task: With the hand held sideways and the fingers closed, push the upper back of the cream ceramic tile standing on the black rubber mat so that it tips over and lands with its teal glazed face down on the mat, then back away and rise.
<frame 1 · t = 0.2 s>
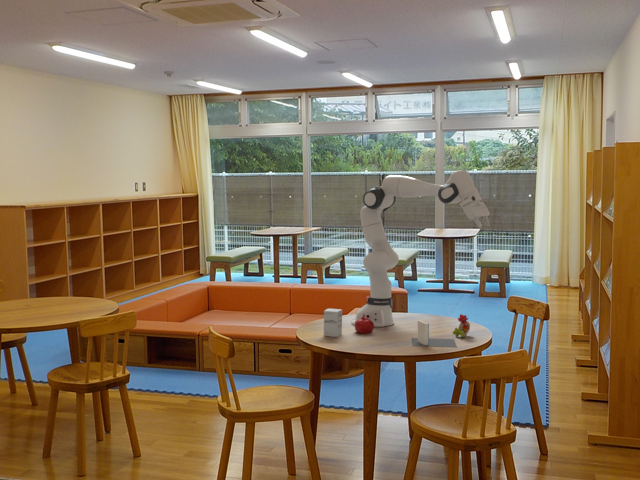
hand: (484, 226, 315), 54 cm above the table, tool tilted 30°, fingers open, 8 cm apart
tile: (423, 343, 306), point 1 cm above the table, touching rubber mat
bird rattle: (462, 336, 323), on the table
pomegranate: (364, 332, 330), on the table
rubber mat: (433, 343, 307), on the table
supplement box: (332, 335, 324), on the table
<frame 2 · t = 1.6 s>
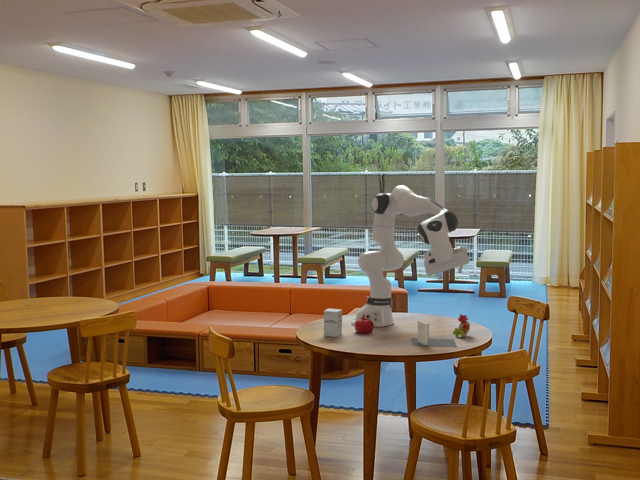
hand: (450, 275, 304), 32 cm above the table, tool tilted 35°, fingers open, 8 cm apart
nothing on the table moved.
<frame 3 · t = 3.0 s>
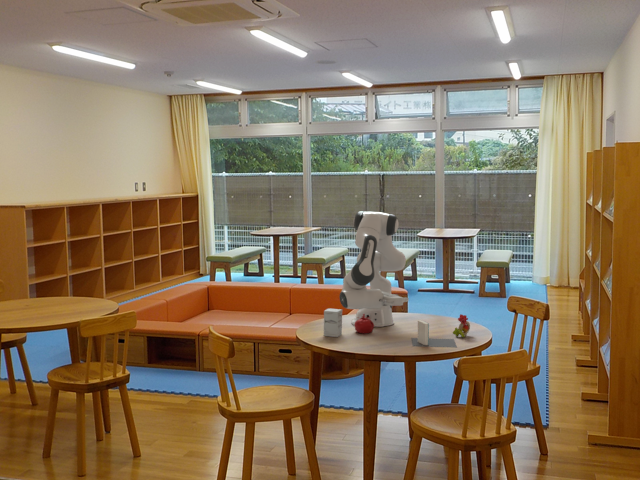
hand: (402, 297, 300), 22 cm above the table, tool horizontal, fingers open, 8 cm apart
nothing on the table moved.
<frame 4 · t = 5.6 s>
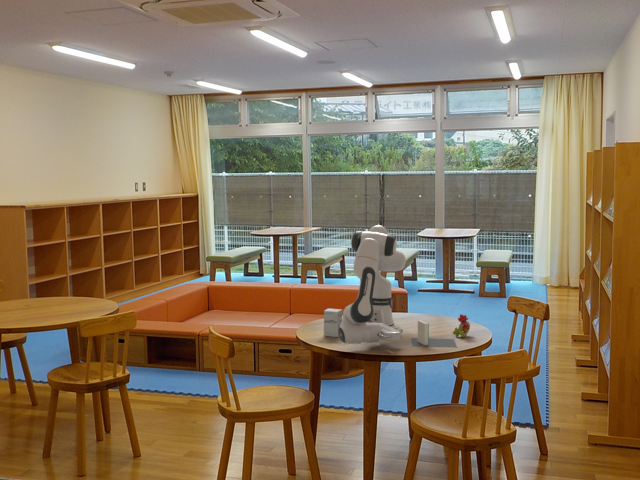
hand: (401, 330, 302), 7 cm above the table, tool horizontal, fingers closed
nothing on the table moved.
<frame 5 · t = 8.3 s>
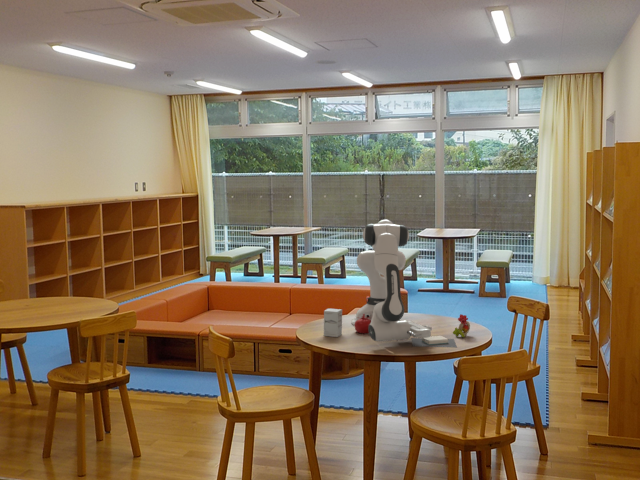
hand: (430, 328, 306), 8 cm above the table, tool horizontal, fingers closed
tile: (425, 341, 306), point 2 cm above the table, tilted 90°, touching rubber mat
everything else where it was.
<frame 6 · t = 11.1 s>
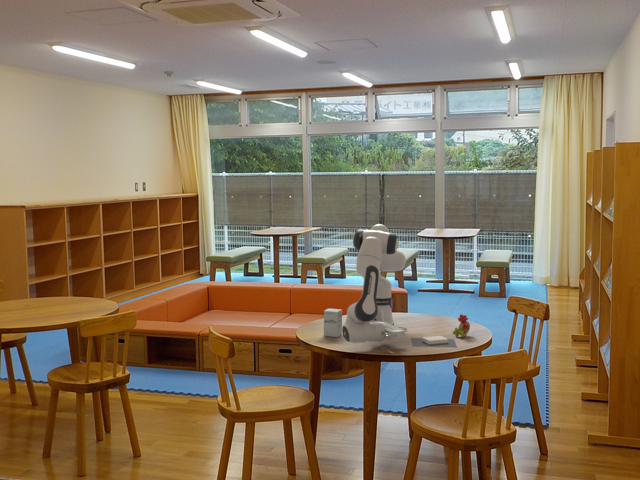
hand: (405, 329, 302), 8 cm above the table, tool horizontal, fingers closed
nothing on the table moved.
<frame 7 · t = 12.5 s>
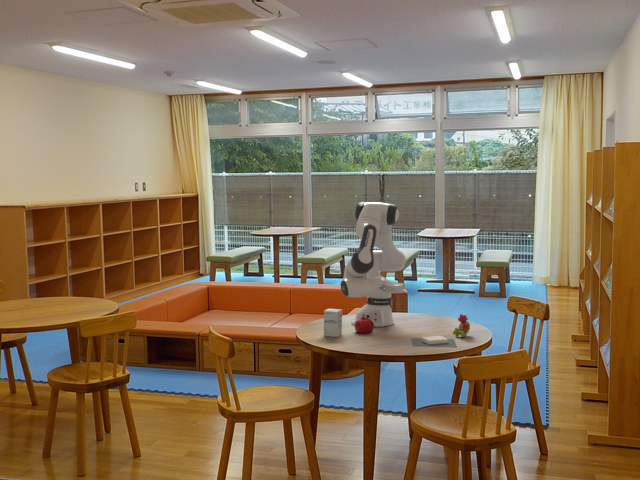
hand: (403, 285, 304), 28 cm above the table, tool horizontal, fingers closed
nothing on the table moved.
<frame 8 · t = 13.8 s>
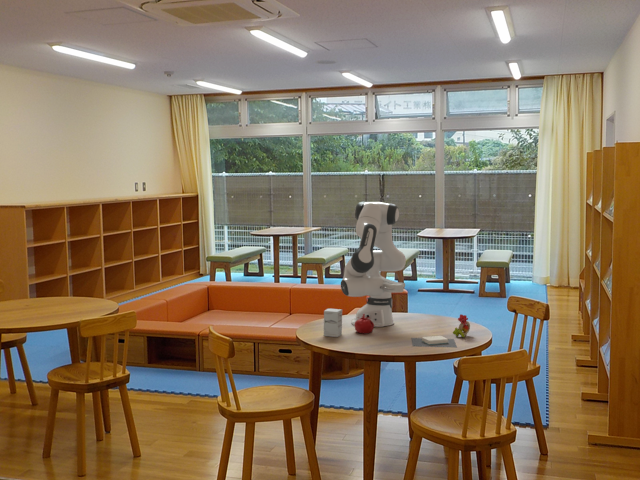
hand: (403, 284, 304), 28 cm above the table, tool horizontal, fingers closed
nothing on the table moved.
at the end: tile tilted 90°; tile inside the target area (2.1 cm from its centre), point 1.6 cm above the table; tile touching rubber mat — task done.
